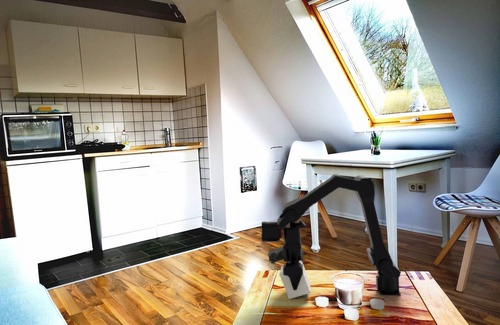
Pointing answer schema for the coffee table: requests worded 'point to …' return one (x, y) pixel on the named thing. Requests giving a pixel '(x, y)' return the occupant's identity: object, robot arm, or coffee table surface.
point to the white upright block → (302, 287)
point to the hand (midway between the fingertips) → (295, 284)
